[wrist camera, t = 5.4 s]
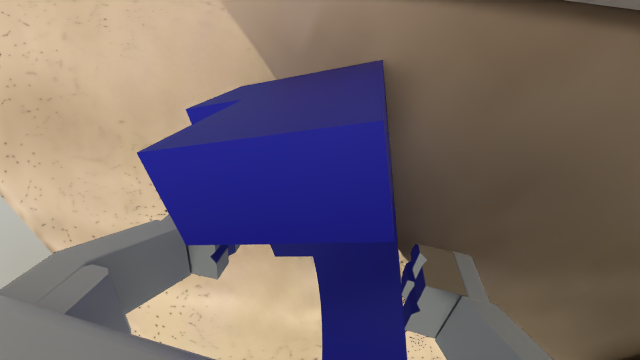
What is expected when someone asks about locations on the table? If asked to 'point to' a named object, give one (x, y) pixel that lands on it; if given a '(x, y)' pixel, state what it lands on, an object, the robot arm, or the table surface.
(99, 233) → the table surface
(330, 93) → the blue curved cradle
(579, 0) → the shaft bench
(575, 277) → the table surface
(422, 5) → the table surface
